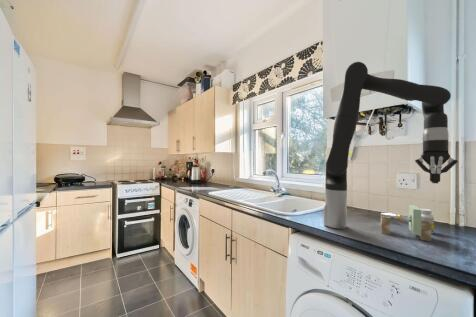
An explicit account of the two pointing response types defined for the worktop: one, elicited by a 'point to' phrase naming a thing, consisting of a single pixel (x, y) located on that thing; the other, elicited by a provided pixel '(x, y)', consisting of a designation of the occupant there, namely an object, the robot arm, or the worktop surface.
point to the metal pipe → (402, 217)
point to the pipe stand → (424, 235)
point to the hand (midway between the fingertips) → (435, 183)
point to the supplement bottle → (427, 214)
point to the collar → (415, 220)
